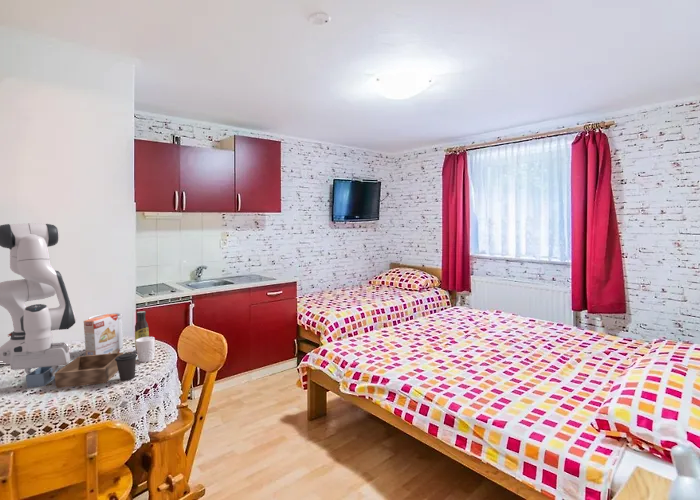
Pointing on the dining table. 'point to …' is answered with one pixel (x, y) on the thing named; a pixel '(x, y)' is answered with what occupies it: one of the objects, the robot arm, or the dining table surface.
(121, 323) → the white container
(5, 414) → the dining table surface
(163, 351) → the dining table surface
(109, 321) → the cracker box
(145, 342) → the white cup
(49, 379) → the small crate
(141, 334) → the sauce bottle
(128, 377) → the coffee cup
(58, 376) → the big crate
